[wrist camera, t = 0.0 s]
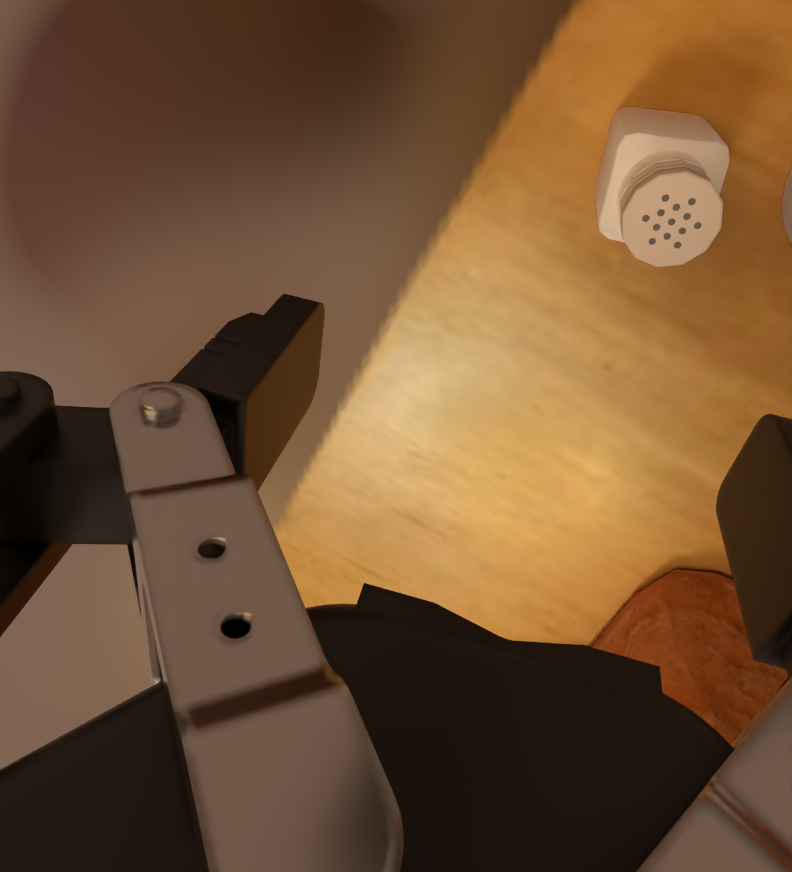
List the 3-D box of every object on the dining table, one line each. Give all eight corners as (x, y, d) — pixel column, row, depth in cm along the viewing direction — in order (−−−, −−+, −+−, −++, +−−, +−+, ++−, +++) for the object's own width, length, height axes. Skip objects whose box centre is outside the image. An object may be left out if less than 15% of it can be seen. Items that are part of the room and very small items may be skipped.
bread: (497, 745, 58) (476, 950, 46) (664, 548, 42) (698, 782, 30) (646, 805, 58) (664, 1024, 46) (870, 630, 42) (987, 896, 30)
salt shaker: (591, 196, 31) (595, 269, 24) (614, 102, 29) (626, 150, 21) (679, 208, 31) (712, 287, 23) (709, 113, 29) (757, 167, 21)
